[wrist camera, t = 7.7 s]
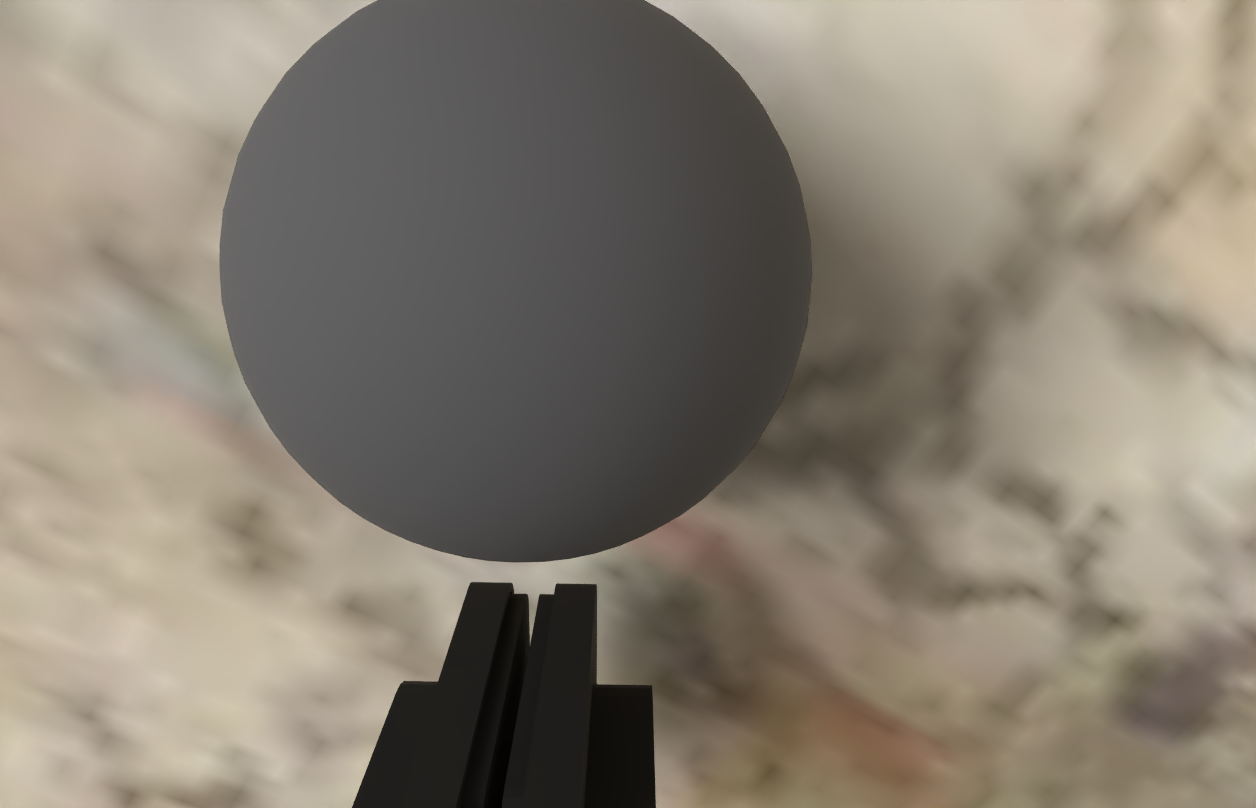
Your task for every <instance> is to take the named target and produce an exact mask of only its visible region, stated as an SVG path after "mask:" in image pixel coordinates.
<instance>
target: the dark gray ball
mask: <svg viewBox="0 0 1256 808" xmlns="http://www.w3.org/2000/svg"><path fill="white" fill-rule="evenodd" d="M811 278H812V264H811V243H810V235H809V229H808V224H807V219H806V214H805V209H804V204H803V199H802V194H801V189H800V185H799V182H798V179H797V177H796V174H795V171H794V168H793V166H792V163H791V160H790V157H789V155H788V152H787V150H786V148H785V146H784V144H783V142H782V141H781V139H780V137H779V135H778V133H777V131H776V129H775V127H774V126H773V124H772V122H771V120H770V118H769V116H768V114H767V113H766V111H765V109H764V107H763V105H762V104H761V102H760V101H759V100H758V98H757V97H756V96H755V94H754V93H753V92H752V90H751V89H750V88H749V86H748V85H747V84H746V82H745V81H744V80H743V78H742V77H741V75H740V74H739V73H738V72H737V71H736V70H735V69H734V68H733V67H732V66H731V65H730V64H729V63H728V62H727V61H726V60H725V59H724V58H723V57H722V56H721V55H720V54H719V53H718V52H717V51H716V50H715V49H714V48H713V47H712V46H711V45H710V44H708V43H707V42H706V41H705V40H703V39H702V38H701V37H699V36H698V35H697V34H695V33H694V32H693V31H691V30H690V29H689V28H688V27H686V26H685V25H684V24H682V23H681V22H680V21H678V20H677V19H676V18H674V17H673V16H671V15H670V14H668V13H666V12H664V11H663V10H661V9H659V8H657V7H655V6H654V5H652V4H650V3H648V2H647V1H645V0H377V1H376V2H374V3H372V4H370V5H368V6H366V7H364V8H362V9H360V10H358V11H357V12H355V13H354V14H353V15H351V16H350V17H349V18H347V19H346V20H345V21H343V22H342V23H341V24H339V25H338V26H337V27H335V28H334V29H333V30H331V31H330V32H329V33H327V34H326V35H325V36H324V37H322V38H321V39H320V40H319V41H317V42H316V43H315V44H314V45H313V46H312V47H311V48H310V49H309V50H308V51H307V52H306V53H305V54H304V55H303V56H302V57H301V58H300V59H299V60H298V61H297V62H296V63H295V64H294V65H293V66H292V67H291V68H290V69H289V70H288V71H287V72H286V74H285V75H284V77H283V78H282V80H281V81H280V82H279V84H278V85H277V87H276V88H275V90H274V91H273V93H272V94H271V96H270V97H269V98H268V100H267V101H266V103H265V104H264V106H263V108H262V109H261V111H260V112H259V114H258V116H257V117H256V119H255V120H254V122H253V125H252V127H251V129H250V131H249V133H248V135H247V137H246V140H245V142H244V144H243V146H242V148H241V150H240V152H239V155H238V158H237V162H236V166H235V169H234V173H233V176H232V180H231V184H230V187H229V191H228V195H227V198H226V202H225V206H224V210H223V218H222V227H221V237H220V280H221V297H222V305H223V309H224V314H225V318H226V323H227V327H228V332H229V336H230V340H231V343H232V347H233V351H234V355H235V357H236V360H237V363H238V365H239V368H240V371H241V373H242V376H243V378H244V381H245V384H246V385H247V387H248V389H249V391H250V393H251V395H252V396H253V398H254V400H255V402H256V404H257V406H258V407H259V409H260V411H261V413H262V415H263V416H264V418H265V420H266V422H267V423H268V425H269V427H270V428H271V430H272V431H273V432H274V434H275V435H276V437H277V438H278V439H279V441H280V442H281V444H282V445H283V446H284V448H285V449H286V450H287V452H288V453H289V454H290V455H291V456H292V457H293V458H294V459H295V460H296V461H297V462H298V464H299V465H300V466H301V467H302V468H303V469H304V470H305V471H306V472H307V473H308V474H309V475H310V476H311V477H312V478H313V479H314V480H315V481H316V482H317V483H318V484H320V485H321V486H322V487H323V488H324V489H325V490H327V491H328V492H329V493H330V494H331V495H332V496H333V497H335V498H336V499H337V500H338V501H339V502H341V503H342V504H343V505H345V506H346V507H348V508H349V509H351V510H352V511H354V512H355V513H356V514H358V515H359V516H361V517H362V518H364V519H366V520H368V521H369V522H371V523H373V524H375V525H377V526H378V527H380V528H382V529H384V530H386V531H388V532H390V533H392V534H395V535H397V536H399V537H402V538H404V539H406V540H408V541H411V542H414V543H417V544H420V545H423V546H425V547H428V548H431V549H434V550H438V551H441V552H445V553H450V554H454V555H458V556H462V557H467V558H474V559H480V560H487V561H500V562H545V561H554V560H563V559H571V558H575V557H580V556H585V555H590V554H595V553H598V552H601V551H604V550H608V549H611V548H614V547H617V546H620V545H623V544H625V543H627V542H630V541H632V540H634V539H637V538H639V537H641V536H644V535H645V534H647V533H649V532H651V531H653V530H655V529H657V528H659V527H661V526H663V525H664V524H666V523H668V522H670V521H671V520H673V519H675V518H677V517H679V516H680V515H682V514H683V513H685V512H686V511H687V510H689V509H690V508H691V507H693V506H694V505H696V504H697V503H698V502H700V501H701V500H702V499H703V498H705V497H706V496H707V495H708V494H709V493H710V492H711V491H712V490H713V489H714V488H715V487H716V486H717V485H718V484H720V483H721V482H722V481H723V480H724V479H725V478H726V477H727V476H728V475H729V474H730V473H731V472H732V471H733V470H734V469H735V468H736V467H737V466H738V465H739V464H740V463H741V461H742V460H743V459H744V458H745V456H746V455H747V454H748V453H749V452H750V450H751V449H752V448H753V447H754V445H755V444H756V442H757V441H758V439H759V437H760V436H761V434H762V433H763V431H764V430H765V428H766V426H767V425H768V423H769V421H770V420H771V418H772V417H773V415H774V413H775V412H776V410H777V408H778V407H779V405H780V403H781V401H782V399H783V396H784V394H785V392H786V390H787V387H788V385H789V383H790V380H791V378H792V375H793V372H794V369H795V366H796V363H797V360H798V357H799V354H800V350H801V346H802V342H803V339H804V335H805V331H806V327H807V320H808V311H809V301H810V291H811Z"/></svg>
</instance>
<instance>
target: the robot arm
mask: <svg viewBox="0 0 1256 808" xmlns="http://www.w3.org/2000/svg"><path fill="white" fill-rule="evenodd" d="M352 808H656V799H655V765H654V730H653V696H652V685H597V585H596V584H556V587H555V592H554V595H551V594H540V595H539V600H538V605H537V611H536V616H535V622H534V627H533V633H532V638H531V644H530V634H529V600H528V595H527V594H514V589H513V584H512V583H488V582H472V583H470V585H469V587H468V590H467V594H466V597H465V600H464V603H463V606H462V609H461V612H460V615H459V618H458V622H457V625H456V628H455V631H454V634H453V637H452V640H451V643H450V646H449V649H448V653H447V656H446V659H445V662H444V665H443V668H442V671H441V674H440V677H439V680H438V682H424V681H404V682H403V683H401V684H400V686H399V688H398V690H397V692H396V694H395V697H394V700H393V702H392V705H391V707H390V710H389V713H388V715H387V718H386V720H385V723H384V726H383V728H382V731H381V733H380V736H379V739H378V741H377V744H376V747H375V749H374V752H373V754H372V757H371V760H370V762H369V765H368V767H367V770H366V773H365V775H364V778H363V780H362V783H361V786H360V788H359V791H358V793H357V796H356V799H355V801H354V804H353V806H352Z"/></svg>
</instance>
